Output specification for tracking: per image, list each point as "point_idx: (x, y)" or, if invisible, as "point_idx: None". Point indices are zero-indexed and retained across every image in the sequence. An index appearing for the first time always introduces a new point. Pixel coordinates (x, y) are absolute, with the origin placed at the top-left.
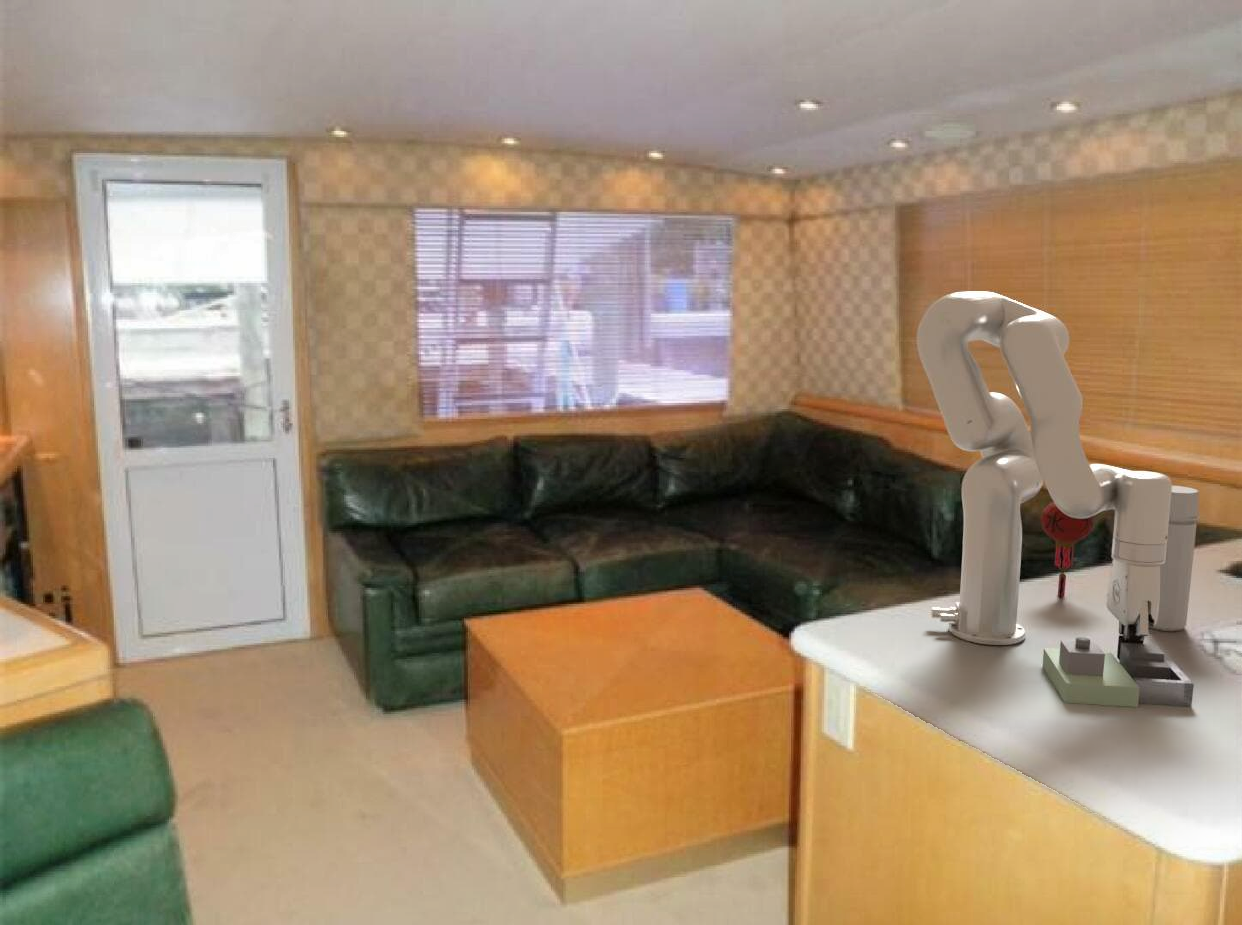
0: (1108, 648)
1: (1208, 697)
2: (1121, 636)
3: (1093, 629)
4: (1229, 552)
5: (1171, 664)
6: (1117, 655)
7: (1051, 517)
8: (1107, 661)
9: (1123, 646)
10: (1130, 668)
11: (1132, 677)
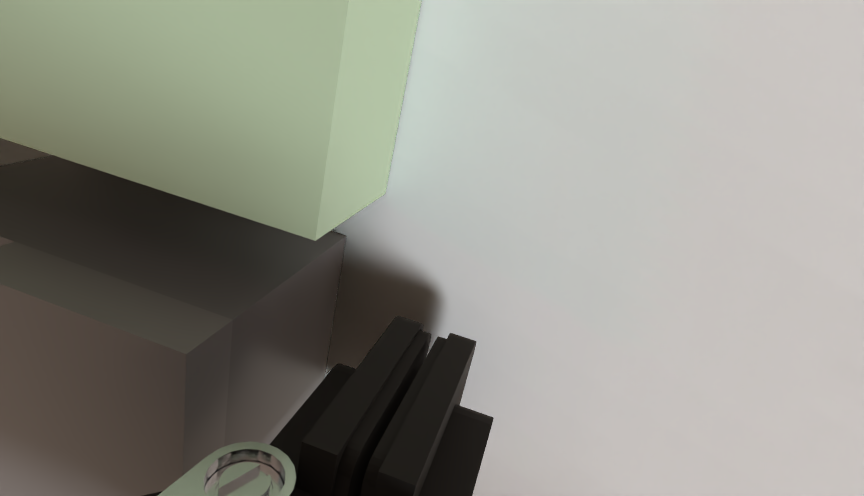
0: (852, 474)
1: None
2: (376, 486)
3: None
4: None
5: None
6: (465, 348)
7: None
8: (84, 64)
9: (122, 319)
10: (32, 203)
11: (28, 175)
